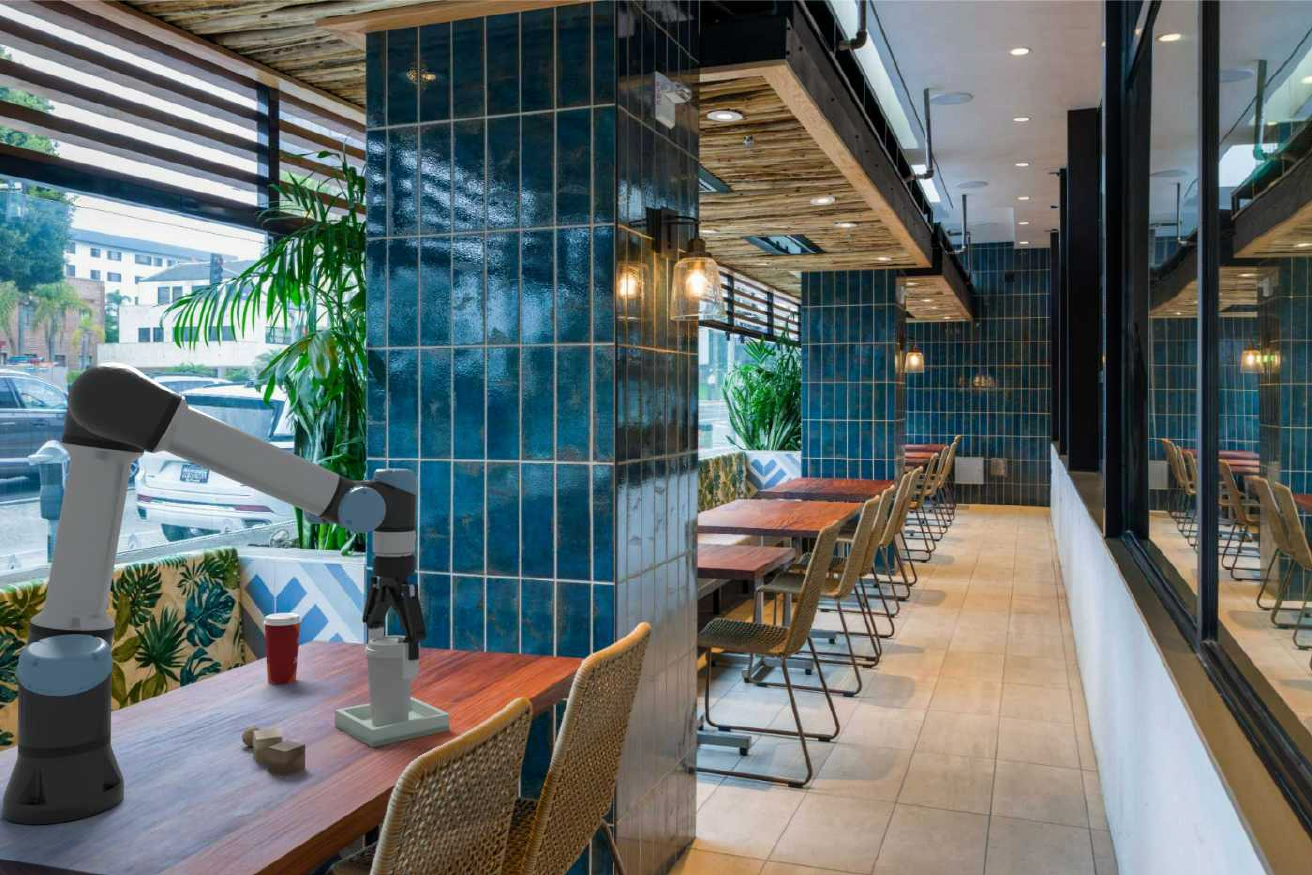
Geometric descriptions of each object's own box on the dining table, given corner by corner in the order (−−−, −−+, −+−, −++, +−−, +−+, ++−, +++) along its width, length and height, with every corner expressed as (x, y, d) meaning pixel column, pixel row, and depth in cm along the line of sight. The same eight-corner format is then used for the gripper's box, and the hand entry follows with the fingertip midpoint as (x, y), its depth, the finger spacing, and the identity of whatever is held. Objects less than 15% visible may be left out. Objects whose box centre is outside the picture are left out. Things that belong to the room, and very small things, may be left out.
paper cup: (308, 679, 214) (309, 614, 214) (278, 687, 208) (278, 620, 207) (285, 674, 218) (286, 610, 218) (254, 681, 212) (255, 616, 212)
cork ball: (245, 750, 169) (246, 731, 169) (239, 745, 171) (239, 726, 171) (264, 746, 171) (265, 727, 171) (258, 741, 174) (258, 723, 174)
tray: (372, 747, 172) (372, 729, 172) (334, 726, 183) (335, 709, 183) (449, 730, 182) (449, 713, 182) (409, 711, 193) (409, 695, 193)
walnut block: (285, 776, 158) (285, 751, 157) (267, 771, 159) (267, 747, 159) (305, 768, 161) (305, 744, 161) (287, 764, 163) (287, 740, 163)
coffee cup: (402, 731, 177) (403, 647, 177) (353, 727, 179) (354, 644, 179) (425, 716, 186) (426, 636, 186) (378, 712, 188) (379, 633, 188)
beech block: (256, 763, 163) (256, 739, 163) (253, 754, 167) (253, 730, 167) (282, 760, 165) (282, 736, 165) (278, 751, 169) (278, 727, 169)
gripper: (447, 559, 175) (445, 680, 175) (381, 544, 193) (380, 654, 194) (408, 563, 170) (406, 687, 170) (344, 547, 188) (343, 659, 189)
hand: (392, 670), depth 182 cm, fingers open, 13 cm apart
